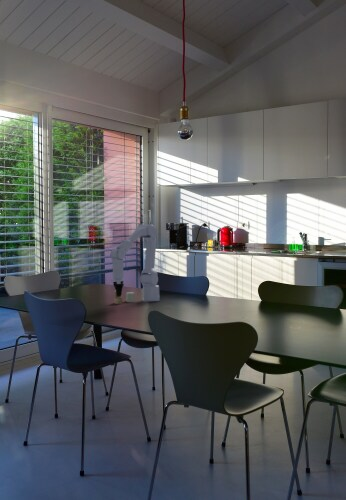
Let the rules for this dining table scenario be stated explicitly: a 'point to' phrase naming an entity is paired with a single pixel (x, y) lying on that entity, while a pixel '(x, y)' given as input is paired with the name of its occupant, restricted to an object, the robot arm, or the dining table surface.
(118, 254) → the robot arm
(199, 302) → the dining table surface
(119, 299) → the maple block
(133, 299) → the sage block
